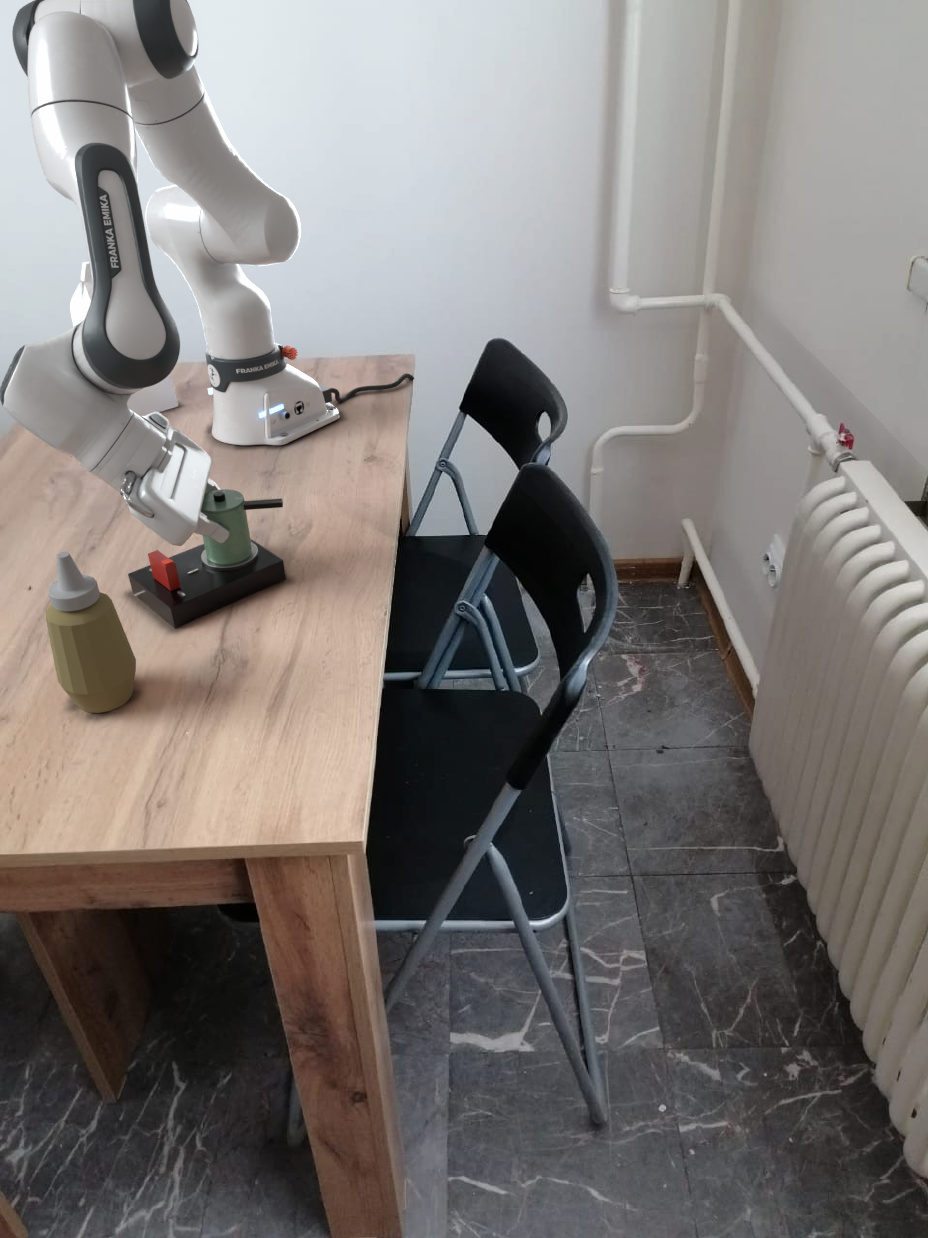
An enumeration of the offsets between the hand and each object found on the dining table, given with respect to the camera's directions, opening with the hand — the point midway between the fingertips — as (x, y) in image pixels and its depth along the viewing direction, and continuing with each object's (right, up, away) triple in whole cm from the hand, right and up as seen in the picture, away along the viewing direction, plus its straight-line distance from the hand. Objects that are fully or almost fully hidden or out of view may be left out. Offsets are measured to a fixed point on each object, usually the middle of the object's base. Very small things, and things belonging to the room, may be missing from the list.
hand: (229, 522), depth 119 cm
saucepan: (+1, -3, +3) cm, 5 cm away
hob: (-3, -8, +2) cm, 9 cm away
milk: (-31, +27, +54) cm, 68 cm away
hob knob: (-7, -8, -2) cm, 11 cm away
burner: (0, -4, +3) cm, 5 cm away
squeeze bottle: (-10, -21, -16) cm, 28 cm away
